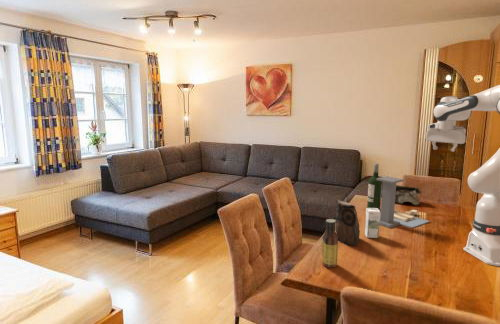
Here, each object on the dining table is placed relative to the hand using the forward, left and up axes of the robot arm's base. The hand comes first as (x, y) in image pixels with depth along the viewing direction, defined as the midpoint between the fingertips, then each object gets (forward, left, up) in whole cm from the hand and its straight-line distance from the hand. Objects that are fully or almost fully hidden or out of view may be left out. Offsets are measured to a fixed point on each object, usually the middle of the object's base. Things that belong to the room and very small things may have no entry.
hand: (443, 150), depth 187 cm
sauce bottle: (-64, +69, -41) cm, 103 cm away
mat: (-1, +20, -41) cm, 46 cm away
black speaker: (-37, +56, -41) cm, 79 cm away
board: (+3, +16, -40) cm, 44 cm away
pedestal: (-10, +31, -41) cm, 52 cm away
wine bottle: (+16, +32, -41) cm, 55 cm away
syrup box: (-30, +44, -41) cm, 67 cm away
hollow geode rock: (+36, +11, -41) cm, 56 cm away
